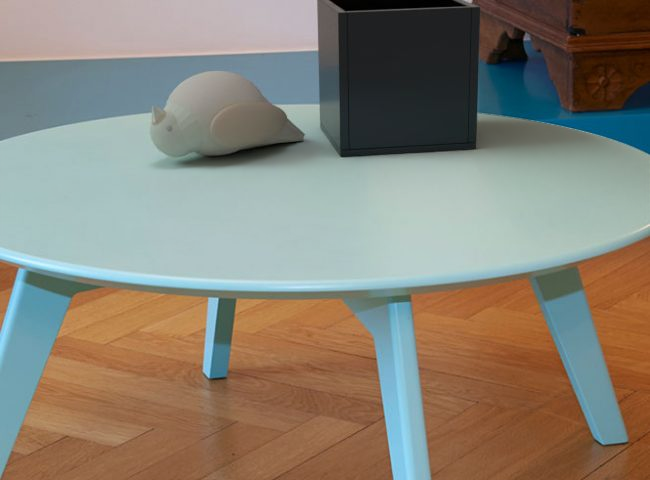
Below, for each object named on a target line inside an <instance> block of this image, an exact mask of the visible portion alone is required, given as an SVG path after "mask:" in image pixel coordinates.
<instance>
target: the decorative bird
mask: <svg viewBox="0 0 650 480" xmlns="http://www.w3.org/2000/svg"><path fill="white" fill-rule="evenodd" d="M149 135H150V139H151V141H152V143H153V145H154V146H155V148H156V149H157V150H158V151H159V152H161V153H162V154H163V155H166V156H168V157H172V158H182V157H185V156H187V155H188V154H191V153H195V154H199V155H202V156H209V157H210V156H212V157H213V156H225V155H229V154H232V153H236V152H238V151H241V150H247V149H252V148H253V149H254V148H259V147H263V146H271V145H275V144H281V143H293V142H302V141H304V138H305V135H306V134H305V133H304V132H303V131H302V130H301V129H300V128H299V127H298V126H297V125H296V124H295V123H293V122H292V121H291V119H289V118H288V115H287V113H286V112H285V111H284V110H283V109H282V108H281V107H279V106H277V105H275V104H273V103H272V102H271V101H269V100H268V99H267V98H266V97H265V96H264V95H263V93H262V91H261V90H260V88H258V86H257V85H255V83H253V82H252V81H251V80H249V79H248V78H247V77H244V76H242V75H240V74H238V73H235V72H231V71H227V70H209V71H203V72H200V73H197V74H194V75H192V76H189V77H188V78H186V79H185V80H183V81H182V82H180V83H179V84H178V85H177V86H176V87H175V88H174V89H173V90H172V92H171V93H170V95H169V97H168V98H167V101H166V103H165V106H164V107H163V109H162V108H159V107H158V106H155V105H151V122H150V125H149Z"/></svg>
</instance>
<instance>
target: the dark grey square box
mask: <svg viewBox="0 0 650 480" xmlns="http://www.w3.org/2000/svg"><path fill="white" fill-rule="evenodd" d="M316 9H317V13H316V14H317V48H318V49H317V50H318V51H317V52H318V55H317V56H318V57H317V58H318V94H319V95H318V96H319V128H320V129H321V131H322V132H323V134H324V135H325V136H326V137H327V140H329V142H330V143H331V145H332V147H333V148H334V149H335V151H336V152H337V153H338V155H339V156H340V157H342V158H343V157H359V156H361V157H362V156H375V155H376V156H377V155H378V156H379V155H390V154H391V155H393V154H396V155H397V154H410V153H411V154H412V153H428V152H446V151H463V150H476V149H477V139H478V138H477V137H478V136H477V135H478V133H477V132H478V105H479V104H478V103H479V102H478V99H479V70H480V69H479V68H480V67H479V65H480V35H481V33H480V29H481V6H478V5H476V4H474V3H472V2H469V1H466V0H316Z"/></svg>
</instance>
